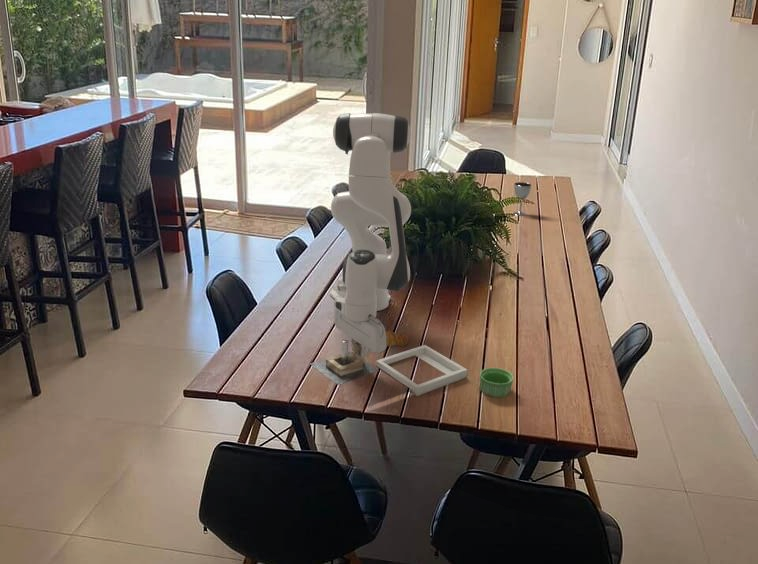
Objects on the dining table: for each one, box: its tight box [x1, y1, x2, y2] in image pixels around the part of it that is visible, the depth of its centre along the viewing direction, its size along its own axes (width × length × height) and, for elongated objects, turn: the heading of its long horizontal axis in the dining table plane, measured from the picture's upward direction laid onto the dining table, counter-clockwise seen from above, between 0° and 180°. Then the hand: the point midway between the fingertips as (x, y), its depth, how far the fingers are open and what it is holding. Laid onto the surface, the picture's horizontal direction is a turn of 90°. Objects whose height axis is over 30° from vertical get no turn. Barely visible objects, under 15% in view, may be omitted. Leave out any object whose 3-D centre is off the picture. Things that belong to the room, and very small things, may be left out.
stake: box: [309, 339, 380, 386], centre depth 196 cm, size 14×14×9 cm
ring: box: [325, 342, 366, 376], centre depth 197 cm, size 8×10×6 cm
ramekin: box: [479, 367, 515, 398], centre depth 190 cm, size 9×9×4 cm
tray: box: [375, 344, 468, 397], centre depth 197 cm, size 18×18×2 cm
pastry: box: [385, 330, 409, 347], centre depth 214 cm, size 9×7×4 cm
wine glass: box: [512, 181, 532, 217], centre depth 349 cm, size 8×8×15 cm
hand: (359, 354), depth 199 cm, fingers closed on ring
